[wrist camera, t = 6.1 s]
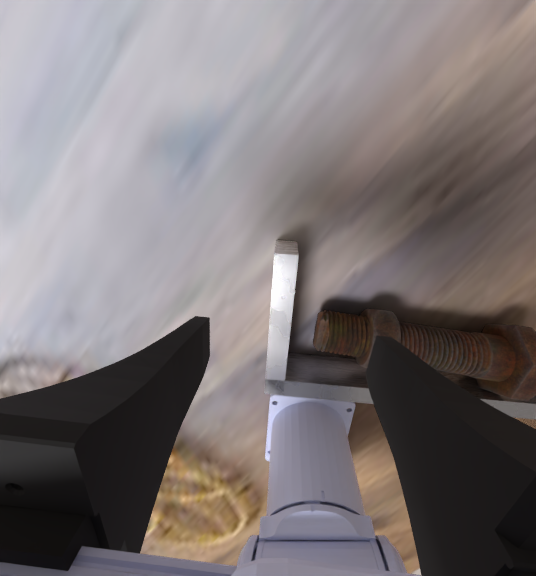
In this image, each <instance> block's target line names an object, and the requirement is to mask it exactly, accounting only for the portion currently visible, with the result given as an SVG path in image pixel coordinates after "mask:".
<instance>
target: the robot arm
mask: <svg viewBox="0 0 536 576" xmlns="http://www.w3.org/2000/svg"><path fill="white" fill-rule="evenodd" d="M209 357H210V323H209V318H207V317H198V316H195V317H194V318H192V319H190V320H189V321H187V322H186V323H184V324H183V325H181V326H180V327H179V328H177V329H175V330H174V331H172V332H171V333H169V334H168V335H166V336H165V337H163V338H162V339H160V340H158V341H156V342H155V343H153V344H151V345H150V346H148V347H146V348H144V349H143V350H141V351H139V352H137V353H135V354H133V355H131V356H129V357H127V358H125V359H123V360H121V361H118V362H116V363H114V364H111V365H109V366H106V367H104V368H101V369H99V370H96V371H94V372H91V373H89V374H86V375H83V376H80V377H77V378H74V379H71V380H68V381H65V382H62V383H59V384H55V385H52V386H49V387H45V388H41V389H37V390H34V391H30V392H26V393H22V394H18V395H14V396H10V397H6V398H1V399H0V576H420V575H415V574H407V571H406V568H405V566H404V563H403V561H402V558H401V556H400V554H399V552H398V550H397V549H396V548H395V547H394V546H393V545H392V544H391V543H390V542H389V540H388V538H387V537H386V536H384V535H376V536H375V533H374V529H373V525H372V520H371V517H370V516H365V512H364V507H363V503H362V498H361V494H360V490H359V485H358V481H357V476H356V472H355V467H354V463H353V459H352V454H351V450H350V445H349V441H348V433H349V429H350V426H351V422H352V418H353V414H354V410H355V402H347V401H336V400H326V399H315V398H305V397H294V396H284V395H273V394H271V395H270V405H269V416H268V428H267V440H266V452H265V459H266V460H267V461H270V465H269V481H268V498H267V515H266V516H263V517H261V519H260V532H259V535H252V536H250V537H249V539H248V541H247V543H246V544H245V546H244V547H243V548H242V550H241V552H240V555H239V558H238V562H237V566H231V565H223V564H216V563H208V562H200V561H193V560H185V559H177V558H170V557H162V556H154V555H147V554H140V551H141V547H142V544H143V541H144V537H145V534H146V530H147V527H148V523H149V520H150V517H151V514H152V510H153V507H154V504H155V501H156V498H157V494H158V491H159V488H160V485H161V482H162V479H163V476H164V473H165V470H166V467H167V463H168V460H169V457H170V455H171V452H172V449H173V446H174V443H175V440H176V437H177V434H178V432H179V429H180V427H181V425H182V422H183V420H184V418H185V416H186V413H187V411H188V409H189V407H190V405H191V403H192V400H193V398H194V396H195V394H196V392H197V390H198V387H199V385H200V383H201V381H202V379H203V376H204V373H205V370H206V367H207V363H208V360H209ZM366 378H367V383H368V387H369V391H370V395H371V398H372V401H373V404H374V406H375V409H376V412H377V414H378V417H379V419H380V422H381V425H382V427H383V430H384V432H385V435H386V438H387V440H388V443H389V445H390V448H391V451H392V454H393V457H394V460H395V464H396V468H397V471H398V475H399V479H400V482H401V486H402V490H403V494H404V498H405V502H406V506H407V510H408V514H409V518H410V523H411V527H412V532H413V536H414V541H415V545H416V550H417V554H418V559H419V564H420V569H421V575H422V576H536V429H534V428H532V427H530V426H528V425H526V424H524V423H522V422H520V421H518V420H517V419H515V418H513V417H511V416H509V415H507V414H505V413H503V412H501V411H500V410H498V409H496V408H494V407H492V406H491V405H489V404H487V403H486V402H484V401H482V400H481V399H479V398H477V397H476V396H474V395H472V394H471V393H469V392H467V391H466V390H464V389H463V388H461V387H460V386H458V385H457V384H455V383H454V382H452V381H451V380H449V379H448V378H446V377H445V376H444V375H442V374H441V373H439V372H438V371H437V370H435V369H434V368H432V367H431V366H430V365H428V364H427V363H426V362H424V361H423V360H422V359H420V358H419V357H418V356H417V355H415V354H414V353H413V352H411V351H410V350H409V349H407V348H406V347H405V346H403V345H402V344H401V343H399V342H398V341H396V340H395V339H393V338H392V337H387V336H377V335H376V339H375V342H374V346H373V349H372V353H371V356H370V359H369V363H368V366H367V370H366ZM273 401H276V402H273ZM348 408H350V409H348Z"/></svg>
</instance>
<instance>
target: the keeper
mask: <svg viewBox="0 0 536 576" xmlns="http://www.w3.org/2000/svg"><path fill="white" fill-rule="evenodd" d="M298 258H299V253H298V246H297V242H296V241H283V240H276V247H275V253H274V267H273V281H272V295H271V309H270V323H269V337H268V350H267V364H266V378H265V392H264V394H273V395H284V396H294V397H305V398H315V399H326V400H336V401H347V402H357V403H368V404H373V401H372V398H371V395H370V391H369V387H368V383H367V378H366V370H367V368H364V367H362V366H360V365H359V364H358V363H357V361H356V359H353V358H341V357H330V356H319V355H308V354H297V353H288V348H289V339H290V330H291V321H292V312H293V303H294V294H295V285H296V276H297V267H298ZM437 371H438V372H439V373H441V374H442V375H444V376H445V377H446V378H448V379H449V380H451V381H452V382H454V383H455V384H457V385H458V386H460V387H461V388H463V389H464V390H466V391H467V392H469V393H471V394H472V395H474V396H476V397H477V398H479V399H481V400H482V401H484V402H486V403H487V404H489V405H491V406H492V407H494V408H496V409H498V410H500V411H501V412H503V413H505V414H507V415H509V416H511V417H515V418H525V419H536V396H534V397H533V398H531V399H530V400H529V401H523V400H516V399H511V398H508V397H505V396H502V395H499V394H496V393H493V392H490V391H488V390H485V389H482V388H479V386H478V383H477V380H476V378H472V377H470V376H467V375H461V374H456V373H448V372H444V371H439V370H437Z"/></svg>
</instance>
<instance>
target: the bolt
mask: <svg viewBox="0 0 536 576" xmlns="http://www.w3.org/2000/svg"><path fill="white" fill-rule="evenodd" d="M376 335H377V336H387V337H392V338H393V339H395V340H396V341H398V342H399V343H401V344H402V345H403V346H405V347H406V348H407V349H409V350H410V351H411V352H413V353H414V354H415V355H417V356H418V357H419V358H420V359H422V360H423V361H424V362H426V363H427V364H428V365H430V366H431V367H432V368H434V369H435V370H439V371H444V372H448V373H456V374H461V375H467V376H470V377H472V378H476V380H477V383H478V386H479V388H482V389H485V390H488V391H490V392H493V393H496V394H499V395H502V396H505V397H508V398H511V399H516V400H523V401H529V400H530V399H531V398H533V397H534V396H536V332H535V331H534V330H533V329H532V328H530V327H524V326H518V325H496V324H486V325H485V327H484V329H483V330H482V332H481V333H478V332H472V333H469V332H465V331H458V330H450V329H445V328H444V329H443V328H438V327H432V326H424V325H419V324H412V323H406V322H400V321H398V319H397V317H396V316H395V314H394V313H393V312H392V311H385V310H379V309H365V310H364V311H363V312H362V313H361V315H359V316H357V315H353V314H350V315H349V314H348V313H346V314H344V313H341V314H340V312H337V313H336V312H334V311H333V312H331V311H328V312H327V310H324V311H323V312H322V311H321V312H320V313H318V317H317V321H316V326H315V332H314V339H313V345H314V347H315V348H316V349H317V350H318V351H319V350H321V351H322V352H323V351H324V350H325V352H328V351H329V352H330V353H332V352H334V354H337V353H338V354H339V355H341V354H343V355H346V354H347V356H350V355H351V356H352V357H355V358H356V361H357V363H358V364H359V365H360V366H362V367H364V368H367V366H368V363H369V359H370V356H371V353H372V349H373V346H374V342H375V339H376Z"/></svg>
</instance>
